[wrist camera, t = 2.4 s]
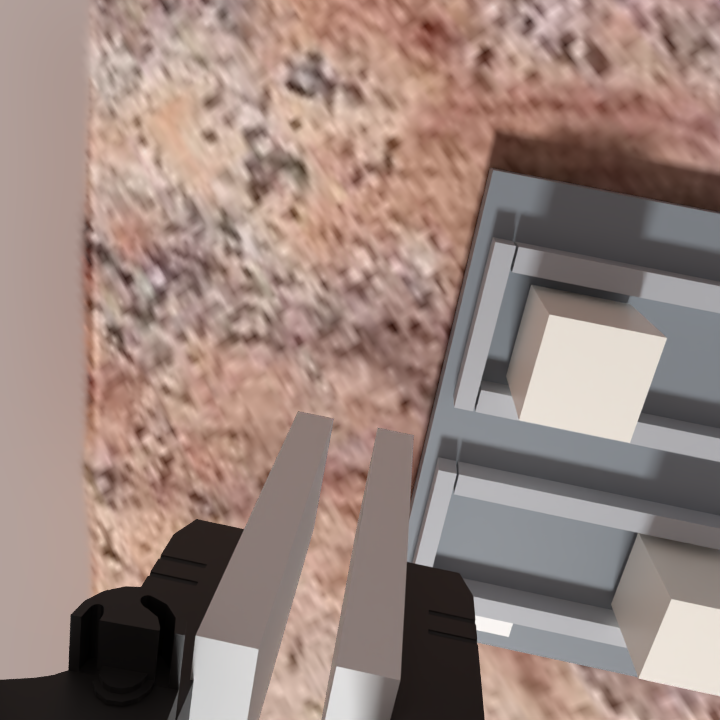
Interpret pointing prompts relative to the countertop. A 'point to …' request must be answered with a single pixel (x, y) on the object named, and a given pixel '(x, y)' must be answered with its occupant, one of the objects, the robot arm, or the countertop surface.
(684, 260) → the grey compartment tray
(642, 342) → the tab
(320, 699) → the countertop surface
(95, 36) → the countertop surface
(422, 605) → the robot arm
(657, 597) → the tab
